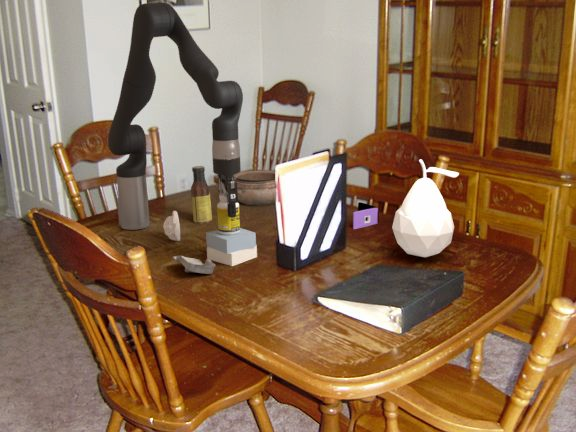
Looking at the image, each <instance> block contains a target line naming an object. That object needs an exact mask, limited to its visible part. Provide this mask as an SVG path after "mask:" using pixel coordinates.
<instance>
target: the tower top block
mask: <svg viewBox="0 0 576 432" xmlns="http://www.w3.org/2000/svg"><path fill="white" fill-rule="evenodd" d="M205 236H206V238H205V240H206V247H210V248H213V249H216V250H218V251H221V252H223V253H226V254H229V253H233V252H237V251H241V250H244V249H248V248H252V247H256V245H257V235H256V232H255V231H251V230H248V229H244V228H242V227H240V232H239V233H237V234H234V235H222V234H220V233H219V232H218V229H216V230H215V229H214V230H212V231H206V233H205Z"/></svg>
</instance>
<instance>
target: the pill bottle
mask: <svg viewBox="0 0 576 432" xmlns="http://www.w3.org/2000/svg"><path fill="white" fill-rule="evenodd" d="M218 196H219V202H217V205H216V212H217V213H216V214H217V230H218V232H219V233H220V234H222V235H234V234H237V233H239V232H240V228H241V227H240V226H241V220H240V202H238V203H236V216H235V217H228V210H227V199H226V197H225V196H224V193H222V194H220V193H219V195H218ZM231 199H233V196H231Z"/></svg>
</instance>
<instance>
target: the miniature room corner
mask: <svg viewBox="0 0 576 432" xmlns="http://www.w3.org/2000/svg"><path fill="white" fill-rule="evenodd" d="M379 210H380V209H379V207H378V206H376V205H375V206H374V205H373V204H372V205H371V204H368V203H365V202H358V203H357V210H356V211H353V212H352V217H353V218H352V229H353V230H356V229H361V228H366V227H369V226H372V225H373V226H374V225H376V224H379V222H380V220H379V218H380V217H379V215H380V214H379V213H380V212H379Z"/></svg>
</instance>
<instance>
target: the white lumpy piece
mask: <svg viewBox="0 0 576 432" xmlns="http://www.w3.org/2000/svg"><path fill="white" fill-rule="evenodd" d="M163 230H164V235H165V236H167V237H168V238H169V239H170V240H171V241H175V242H180V241H181V224H180V220H179V214H178V211H177V210H172V215H170V216H167V217H166V219H165V220H164V223H163Z"/></svg>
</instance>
